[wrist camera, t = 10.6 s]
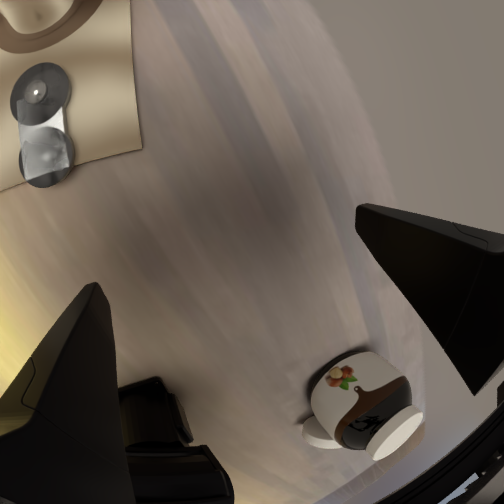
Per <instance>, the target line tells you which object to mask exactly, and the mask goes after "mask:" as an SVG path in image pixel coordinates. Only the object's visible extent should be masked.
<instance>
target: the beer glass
mask: <svg viewBox="0 0 504 504" xmlns="http://www.w3.org/2000/svg"><path fill="white" fill-rule="evenodd" d="M82 1H83V0H0V15H1V18H2V21H3V24H4V26H5V28H6V30H7V32H8V33H9V34H10V35H11V36H13V37H14V38H17V39H21V40H30V39H35V38H39V37H42V36H44V35H47V34H49V33H51V32H52V31H54V30H56V29H57V28H59V27H60V26H62V25H63V24H64V23H65V22H66V21H68V20H69V19H70V18H71V17H72V16H73V14H74V13H75V12H76V11H77V9H78V8H79V7H80V5H81V3H82Z"/></svg>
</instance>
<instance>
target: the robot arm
mask: <svg viewBox="0 0 504 504" xmlns="http://www.w3.org/2000/svg"><path fill="white" fill-rule="evenodd" d="M355 229H356V232H357V233H358V235H359V236H360V238H361V239H362V241H363V242H364V243H365V245H366V246H367V248H368V249H369V251H370V252H371V254H372V255H373V257H374V258H375V260H376V261H377V262H378V264H379V265H380V266H381V267H382V269H383V270H384V271H385V272H386V274H387V275H388V276H389V277H390V278H391V280H392V281H393V282H394V283H395V285H396V286H397V287H398V289H399V290H400V291H401V292H402V294H403V295H404V296H405V298H406V299H407V300H408V301H409V303H410V304H411V305H412V307H413V308H414V309H415V311H416V312H417V313H418V315H419V316H420V317H421V319H422V320H423V321H424V323H425V324H426V325H427V327H428V328H429V330H430V331H431V332H432V334H433V335H434V337H435V338H436V339H437V341H438V342H439V344H440V345H441V347H442V348H443V349H444V351H445V353H446V354H447V356H448V357H449V358H450V360H451V362H452V363H453V365H454V366H455V367H456V369H457V371H458V372H459V374H460V375H461V377H462V378H463V380H464V381H465V383H466V385H467V386H468V388H469V390H470V391H471V393H472V394H473V395H474V396H475V395H476V394H478V393H479V392H480V391H481V390H482V389H483V388H484V387H485V386H486V385H487V384H488V383H489V382H490V381H491V380H492V379H493V378H494V377H495V376H496V375H497V374H498V373H499V371H501V369H502V368H503V367H504V234H500V233H495V232H491V231H487V230H483V229H478V228H474V227H470V226H466V225H461V224H458V223H454V222H452V223H451V222H450V221H446V220H442V219H437V218H434V217H430V216H425V215H421V214H417V213H412V212H408V211H403V210H398V209H394V208H389V207H384V206H379V205H374V204H369V203H365V204H361V205H358V206H357V208H356V217H355ZM156 382H158V383H157V384H156ZM193 440H194V439H193V436H192V433H191V430H190V427H189V424H188V421H187V418H186V415H185V412H184V409H183V408H182V406H181V404H180V403H179V401H178V399H177V398H176V396H175V394H173V393H169V392H168V390H167V388H166V386H165V385H164V383H163V381H162V380H161V379H160V378H159V377H155V378H151V379H148V380H145V381H142V382H139V383H136V384H133V385H130V386H127V387H123V388H120V389H118V385H117V370H116V351H115V341H114V334H113V326H112V318H111V310H110V304H109V302H108V300H107V298H106V296H105V294H104V292H103V290H102V288H101V287H100V285H99V284H98V283H97V282H93V283H90V284H87V285H85V286H84V287H83V289H82V290H81V291H80V292H79V293H78V295H77V296H76V297H75V298H74V300H73V301H72V302H71V303H70V304H69V306H68V307H67V308H66V309H65V311H64V312H63V313H62V315H61V316H60V317H59V318H58V320H57V321H56V322H55V324H54V325H53V326H52V327H51V329H50V330H49V331H48V333H47V334H46V335H45V337H44V338H43V339H42V341H41V342H40V344H39V345H38V346H37V348H36V349H35V351H34V352H33V353H32V355H31V357H29V359H28V360H27V362H26V363H25V365H24V366H23V368H22V369H21V370H20V372H19V373H18V375H17V376H16V378H15V379H14V380H13V382H12V383H11V384H10V386H9V387H8V388H7V390H6V391H5V392H4V394H3V395H2V397H1V398H0V504H234V490H233V486H232V483H231V480H230V478H229V476H228V474H227V472H226V471H225V470H224V468H223V467H222V466H221V464H220V463H219V461H218V460H217V459H216V457H215V456H214V455H213V453H212V452H211V450H210V449H209V447H208V446H207V445H200V446H191V447H189V444H188V443H191V442H193ZM474 473H476V474H477V475H478V477H479V478H478V479H477V480H475V481H474V482H472V483H471V484H469V485H468V486H467V487H466V488H465V490H466V492H465V493H463V494H461V495H460V496H458V497H456V498H454V499H452V500H451V501H449V502H448V503H447V504H504V381H503V382H502V383H501V385H500V386H499V387H498V388H497V408H496V409H495V410H494V411H493V412H492V413H491V414H490V415H489V416H488V417H487V418H486V419H485V420H484V421H483V422H482V423H481V424H480V425H479V426H478V427H477V428H476V429H475V430H474V431H473V432H472V433H471V434H470V435H469V436H468V437H466V438H465V439H464V440H463V441H462V442H461V443H460V444H458V445H457V446H456V447H455V448H454V449H452V450H451V451H450V452H449V453H448V454H446V455H445V456H444V457H443V458H441V459H440V460H439V461H438V462H436V463H435V464H434V465H432V466H431V467H430V468H428V469H427V470H425V471H424V472H423V473H421V474H420V475H418V476H417V477H416V478H414V479H413V480H411V481H410V482H408V483H407V484H405V485H404V486H402V487H400V488H399V489H398V490H396V491H394V492H392V493H391V494H389V495H387V496H386V497H384V498H382V499H381V500H379V501H377V502H375V503H373V504H438V503H439V502H441V501H442V500H443V499H444V498H446V497H447V496H448V495H449V494H451V493H452V492H453V491H454V490H456V489H457V488H458V487H459V486H460V485H461V484H463V483H464V482H465V481H466V480H467V479H468V478H469V477H470V476H472V474H474Z"/></svg>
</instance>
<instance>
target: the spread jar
mask: <svg viewBox="0 0 504 504" xmlns="http://www.w3.org/2000/svg"><path fill="white" fill-rule="evenodd" d="M310 401H311V407H312V410H313V413H314V415H315V416H312V417H310V418H308V419H307V420H306V421H305V422H304V424H303V429H302V436H303V439H304V440H305V441H306V442H307V443H309V444H311V445H313V446H316V447H319V448H325V449H336V448H341V447H344V448H347V449H351V450H365V451H366V452H367V453H368V454H369V455H370V456H371V458H372V459H373V460H376V461H377V460H380V459H382V458H384V457H386V456H388V455H389V454H391V453H392V452H393V451H395V450H396V449H397V448H398V447H400V446H401V445H402V444H403V443H404V442H405V441H406V440H407V439H408V438H409V437H410V436H411V435H412V433H413V432H414V431H415V430H416V428H417V427H418V425H419V424H420V422H421V420H422V418H423V413H422V412H421V411H420V410H419V409H418V408H416V407H415V406H414V405H412V393H411V387H410V384H409V381H408V380H407V378H406V377H405V376H404V375H403V374H402V373H401V372H400V371H399V370H398V369H397V368H396V367H394V366H393V365H392V364H391V363H389V362H388V361H387V360H386V359H384V358H383V357H381V356H380V355H378V354H376V353H373V352H369V351H356V352H351V353H347V354H344V355H341V356H339V357H337V358H336V359H334V360H333V361H331V362H330V363H329V364H328V365H327V366H326V367H325V368H324V369H323V370H322V371H321V372H320V374H319V375H318V376H317V378H316V380H315V382H314V384H313V386H312V390H311V396H310Z"/></svg>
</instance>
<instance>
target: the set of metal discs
mask: <svg viewBox="0 0 504 504" xmlns="http://www.w3.org/2000/svg"><path fill="white" fill-rule="evenodd" d="M71 93H72V86H71V81H70V79H69V77H68V75H67V74H66V73H65V71H64V70H63V69H62V68H61V67H60V66H59V65H57V64H55V63H50V62H44V63H39V64H36V65H34V66H32V67H30V68H29V69H27V70H26V71H25V72H24V73H23V74H22V75H21V76H20V77H19V78H18V80H17V81H16V83H15V85H14V87H13V89H12V92H11V96H10V109H11V112H12V115H13V117H14V118H15V119H16V120H17V121H18V129H19V139H20V147H21V149H20V153H19V169H20V172H21V174H22V176H23V178H24V179H25V180H26V181H27V182H28V183H29V184H30V185H32V186H35V187H38V188H46V187H50V186H52V185H55V184H57V183H59V182H61V181H62V180H64V179H65V178H66V177H67V175H68V174H69V173H70V171H71V169H72V167H73V165H74V161H75V146H74V143H73V140H72V139H71V137H70V136H69V134H68V125H67V116H66V108H67V106H68V104H69V102H70V99H71Z"/></svg>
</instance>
